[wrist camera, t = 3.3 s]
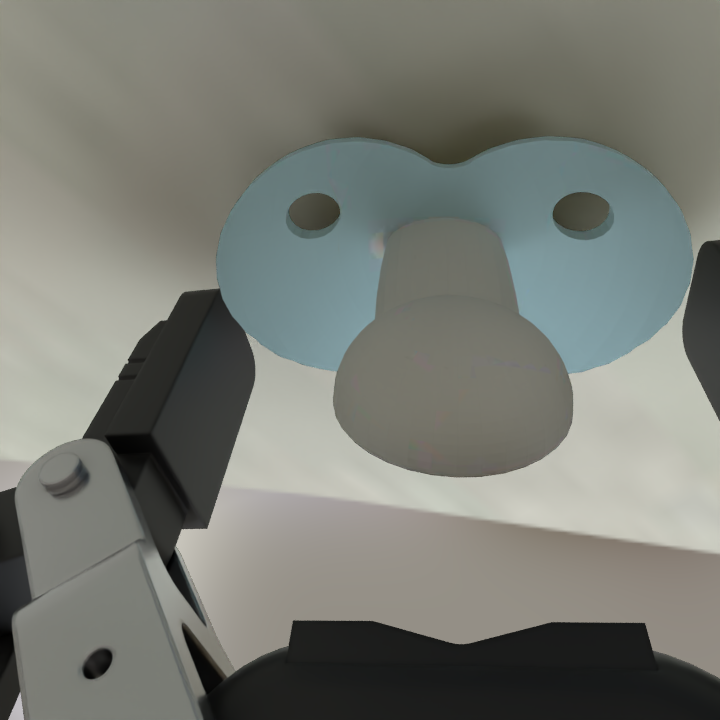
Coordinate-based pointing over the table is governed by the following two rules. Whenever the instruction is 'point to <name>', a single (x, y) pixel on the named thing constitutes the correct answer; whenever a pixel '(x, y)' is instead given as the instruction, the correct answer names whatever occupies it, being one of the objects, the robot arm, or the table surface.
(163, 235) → the table surface
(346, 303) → the pacifier
